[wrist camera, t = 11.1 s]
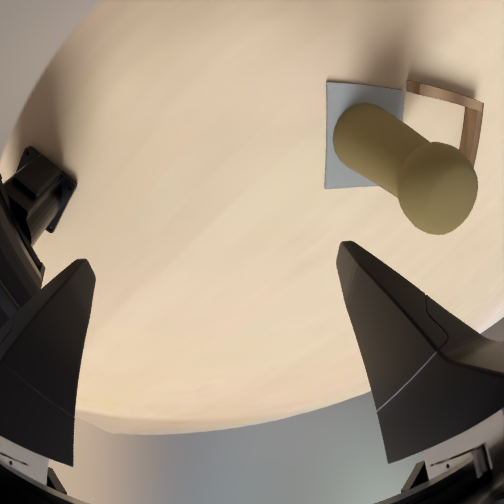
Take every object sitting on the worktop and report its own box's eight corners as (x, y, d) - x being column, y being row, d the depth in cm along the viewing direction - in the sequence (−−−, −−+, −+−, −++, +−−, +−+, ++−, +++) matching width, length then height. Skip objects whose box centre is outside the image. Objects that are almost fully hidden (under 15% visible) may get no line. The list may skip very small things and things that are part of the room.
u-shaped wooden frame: (394, 193, 23) (404, 202, 22) (407, 80, 16) (420, 83, 15) (455, 190, 23) (465, 198, 22) (471, 98, 16) (483, 103, 15)
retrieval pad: (324, 187, 22) (325, 189, 22) (326, 82, 16) (327, 82, 16) (392, 183, 22) (393, 185, 22) (402, 90, 17) (404, 90, 16)
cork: (357, 88, 16) (464, 125, 8) (406, 130, 19) (501, 189, 10) (318, 149, 19) (394, 227, 11) (370, 182, 22) (446, 264, 13)
